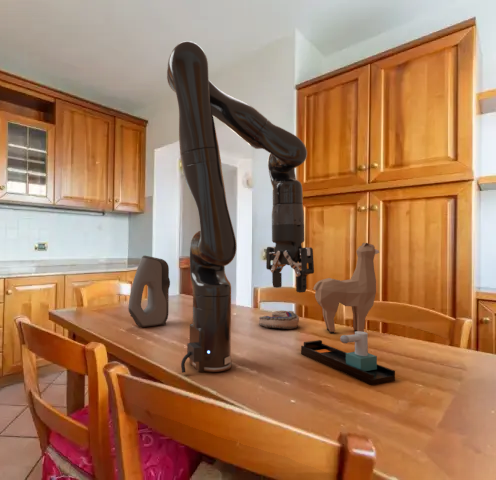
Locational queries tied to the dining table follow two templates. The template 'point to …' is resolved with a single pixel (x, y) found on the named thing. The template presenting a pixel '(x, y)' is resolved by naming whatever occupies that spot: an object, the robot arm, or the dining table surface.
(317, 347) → the rail
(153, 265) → the brown holed slab
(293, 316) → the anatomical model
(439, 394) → the dining table surface
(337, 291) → the toy
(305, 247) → the robot arm
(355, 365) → the handle
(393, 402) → the dining table surface
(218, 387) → the dining table surface
